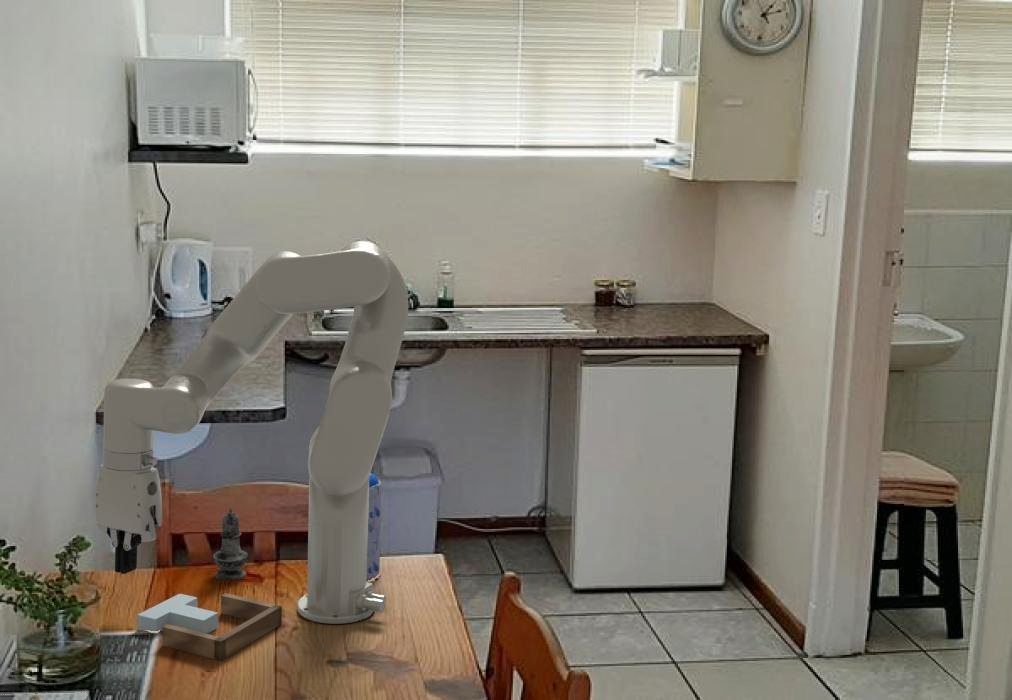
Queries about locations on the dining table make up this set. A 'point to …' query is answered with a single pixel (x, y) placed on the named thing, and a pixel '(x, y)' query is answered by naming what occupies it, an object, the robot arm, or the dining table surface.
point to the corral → (219, 648)
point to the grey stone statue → (230, 550)
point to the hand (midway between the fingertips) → (125, 570)
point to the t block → (178, 615)
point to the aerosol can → (374, 527)
